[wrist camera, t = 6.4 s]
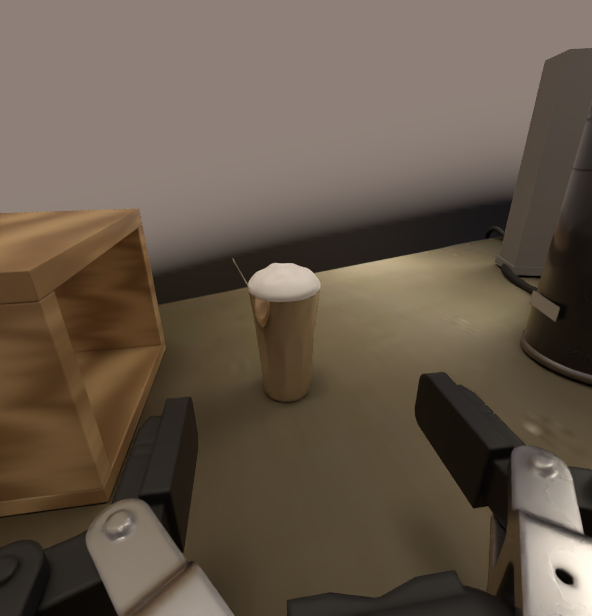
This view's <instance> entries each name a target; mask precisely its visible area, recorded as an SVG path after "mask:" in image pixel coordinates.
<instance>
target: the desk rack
mask: <svg viewBox="0 0 592 616" xmlns="http://www.w3.org/2000/svg"><path fill="white" fill-rule="evenodd" d="M165 349H166V345H165V340H164V335H163V330H162V324H161V319H160V314H159V309H158V304H157V299H156V293H155V288H154V283H153V279H152V273H151V268H150V263H149V257H148V252H147V247H146V242H145V237H144V232H143V227H142V221H141V216H140V211H139V209H112V210H83V211H53V212H24V213H0V517H2V516H9V515H16V514H23V513H31V512H38V511H45V510H53V509H60V508H67V507H75V506H82V505H89V504H97V503H104V502H108V501H109V498H110V496H111V493H112V490H113V488H114V485H115V482H116V480H117V477H118V474H119V472H120V469H121V466H122V464H123V461H124V458H125V456H126V453H127V450H128V448H129V445H130V442H131V440H132V437H133V434H134V432H135V429H136V426H137V424H138V421H139V418H140V416H141V413H142V410H143V408H144V405H145V402H146V400H147V397H148V394H149V392H150V389H151V386H152V384H153V381H154V378H155V376H156V373H157V370H158V368H159V365H160V363H161V360H162V357H163V355H164V352H165Z"/></svg>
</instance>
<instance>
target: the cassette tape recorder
mask: <svg viewBox="0 0 592 616" xmlns="http://www.w3.org/2000/svg"><path fill="white" fill-rule="evenodd" d="M591 101H592V48H586V49H570V50H567V51H565V52H563V53H561V54H559V55H557V56H554V57H552V58H550V59H548V60H546V61H545V64H544V68H543V72H542V77H541V81H540V85H539V89H538V94H537V98H536V103H535V107H534V111H533V115H532V119H531V124H530V128H529V132H528V136H527V141H526V145H525V149H524V153H523V158H522V162H521V166H520V170H519V175H518V179H517V184H516V188H515V192H514V196H513V200H512V205H511V209H510V213H509V218H508V221H507V226H506V230H505V234H504V239H503V243H502V247H501V251H500V255H497V256H496V260H495V263H497V265H498V266H501V267H502V264H506V265H507V266H508V267H509V268H510V270H511V271H512V272H513V273H514V274H515V275H516V276H519V275H530V276H541V274H542V271H543V268H544V264H545V261H546V257H547V254H548V250H549V247H550V244H551V240H552V237H553V233H554V230H555V227H556V223H557V220H558V216H559V213H560V209H561V206H562V203H563V199H564V196H565V192H566V189H567V186H568V182H569V179H570V175H571V172H572V169H573V164H574V161H575V157H576V154H577V150H578V147H579V143H580V140H581V137H582V133H583V130H584V126H585V123H586V122H587V121H588V120H587V119H586V118H587V115H588V111H589V108H590V104H591Z"/></svg>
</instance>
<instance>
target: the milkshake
mask: <svg viewBox="0 0 592 616" xmlns="http://www.w3.org/2000/svg"><path fill="white" fill-rule="evenodd" d="M232 259H233V258H232ZM233 261H234V259H233ZM234 263H235V261H234ZM235 264H236V263H235ZM236 266H237V265H236ZM237 268H238V266H237ZM238 270H239V268H238ZM239 272H240V270H239ZM240 274H241V275H242V273H241V272H240ZM242 277H243V275H242ZM243 279H244V277H243ZM244 281H245V279H244ZM245 282H246V281H245ZM246 284H247V282H246ZM247 286H248V289H249V295H250V301H251V306H252V312H253V317H254V323H255V328H256V334H257V341H258V348H259V355H260V361H261V368H262V375H263V381H264V388H265V392H266V393H267V394H268V395H269V396H270V397H271V398H272V399H273V400H278V401H282V402H291V401H295V400H300V399H301V398H303V397H304V396H305V395H306V394H307V393H308V392H309V387H310V376H311V365H312V353H313V342H314V332H315V325H316V317H317V310H318V301H319V293H320V281H319V279H318V278H317V277H316V275H315V274H314V273H313V272H312V271H311V270H309V269H307V268H305V267H300V266H298V265H295V264H293V263H287V264H280V263H273V264H271V265H269V266H268V267H266V268H265V269H262V270H260V271H258V272H256V273H255V274H254V275H253V276H252V278H251V279H250V281H249V284H247Z"/></svg>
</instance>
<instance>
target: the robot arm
mask: <svg viewBox="0 0 592 616" xmlns="http://www.w3.org/2000/svg"><path fill="white" fill-rule="evenodd" d="M586 119H587V120H588V121H587V122H586V123H585V126H584V130H583V133H582V137H581V140H580V143H579V147H578V150H577V154H576V157H575V161H574V164H573V169H572V172H571V175H570V179H569V182H568V186H567V189H566V192H565V196H564V199H563V203H562V206H561V209H560V213H559V216H558V220H557V223H556V227H555V230H554V233H553V237H552V240H551V244H550V247H549V250H548V254H547V257H546V261H545V264H544V268H543V271H542V274H541V278H540V281H539V285H538V288H536V287H534V286H532V285H530V284H528V283H526V282H525V281H523V280H522V279H520V278H519V277H518V276H516V275H515V274H514V273H513V272H512V271H511V270H510V268H509V267H508V266H507V265H506V264H502V270H503V272H504V274H505V275H506V276H507V277H508V278H509V279H510V280H511V281H513V282H514V283H515V284H516V285H518V286H519V287H520V288H522V289H524V290H526V291H527V292H529V293H531V294H532V296H531V300H530V304H532V308H531V311H530V315H529V318H528V322H527V325H526V328H525V330H524V331H523V334H522V337H521V345H522V347H523V349H524V350H525V351H526V353H527V354H528V355H530V356H531V357H532V358H533V359H535V360H536V361H537V362H539V363H540V364H542V365H544V366H545V367H547V368H549V369H551V370H553V371H555V372H557V373H560V374H562V375H564V376H567V377H570V378H572V379H575V380H578V381H581V382H584V383H588V384H591V385H592V101H591V104H590V108H589V111H588V115H587V118H586ZM493 231H496V232H498V233H499V234H500V235H501V236H502V237H503V238H504V234H505V232H504V231H503V230H501V229H500V228H499V227H492V228H490V229H489V230H488V231H487V233H486V235H485V239H489V237H490V235H491V233H492V232H493ZM415 417H416V420H417V423H418V425H419V427H420V428H421V430H422V431H423V433H424V435H425V436H426V438H427V439H428V441H429V442H430V444H431V445H432V447H433V448H434V450H435V451H436V453H437V454H438V456H439V457H440V459H441V460H442V462H443V463H444V465H445V466H446V468H447V469H448V471H449V472H450V474H451V475H452V477H453V478H454V480H455V481H456V483H457V484H458V486H459V487H460V489H461V490H462V492H463V493H464V495H465V497H466V498H467V500H468V501H469V503H470V504H471V506H472V507H473V508H479V507H486V506H489V508H490V509H491V511H492V512H493V513H492V516H491V520H490V544H489V569H488V583H487V589H486V592H485V591H482V590H480V589H477V588H473V587H469V586H464V585H462V583H461V581H460V579H459V577H458V575H457V573H456V571H455V570H451V571H446V572H440V573H435V574H429V575H424V576H418V577H415V578H413V579H411V580H409V581H407V582H406V583H404V584H402V585H400V586H399V587H397V588H395V589H393V590H392V591H390V592H388V593H386V594H385V595H383V596H381V597H378V598H371V597H363V596H355V595H347V594H339V593H331V592H330V593H324V594H319V595H313V596H308V597H302V598H297V599H291V600H287V616H592V470H591V469H584V468H577V467H570V466H567V465H566V464H565V463H564V462H563V461H562V460H561V459H560V458H558V457H557V456H555V455H554V454H552V453H550V452H548V451H546V450H544V449H541V448H538V447H534V446H526V445H525V444H524V443H523V442H522V441H521V440H520V439H519V437H518V436H517V435H516V434H515V433H514V432H513V431H512V430H511V429H510V428H509V427H508V426H507V425H506V424H505V423H504V422H503V421H502V420H501V419H500V418H499V417H498V416H497V415H496V414H494V413H493V411H492V410H491V409H490V408H489V407H488V406H485V403H484V402H483V401H482V400H481V399H480V398H479V397H478V396H477V395H476V394H475V393H474V392H472V391H470V390H469V389H467V388H465V387H464V386H462V385H457V384H456V383H455V382H454V381H453V380H452V379H451V378H450V377H449V376H448V375H447V374H446V373H444V372H437V373H427V374H422V375H421V376H420V379H419V385H418V391H417V398H416V404H415ZM197 453H198V432H197V426H196V420H195V414H194V408H193V402H192V398H191V397H181V398H171V399H167V400H166V403H165V406H164V410H163V413H162V416H153V417H150V418H149V419H148V420H147V421H146V422H145V423H144V424H143V425H142V426H141V428H140V429H139V431H138V433H137V436H136V439H135V442H134V446H133V447H132V450H131V453H130V457H129V458H128V461H127V464H126V466H125V469H124V472H123V475H122V477H121V480H120V483H119V485H118V488H117V491H116V494H115V496H114V499H113V502H112V504H111V505H110V506H108V507H107V508H105V509H104V510H103V511H102V512H101V513H99V514H98V516H97V517H96V518H95V519H94V520H93V522H92V523H91V525H90V527H89V528H88V530H86V531H85V532H83V533H81V534H79V535H77V536H75V537H73V538H70V539H68V540H66V541H63V542H61V543H58V544H56V545H54V546H51V547H49V548H47V549H44V550H43V549H42V547H41V546H40V544H39V543H37V542H35V541H32V540H21V541H17V542H13V543H10V544H8V545H6V546H4V547H2V548H0V616H235V615H234V614H233V613H232V611H231V610H230V608H229V607H228V606H227V604H226V603H225V601H224V600H223V599H222V597H221V596H220V594H219V593H218V592H217V590H216V589H215V587H214V586H213V585H212V583H211V582H210V580H209V579H208V578H207V576H206V575H205V573H204V572H203V571H202V569H201V568H200V567H199V566H198V565H197V564H196V563H195V562H194V561H191V562H190V563H189V562H188V561H187V560H186V559H185V557H184V556H183V554H182V553H184V546H185V539H186V532H187V525H188V518H189V510H190V503H191V496H192V489H193V482H194V475H195V468H196V461H197Z"/></svg>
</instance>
